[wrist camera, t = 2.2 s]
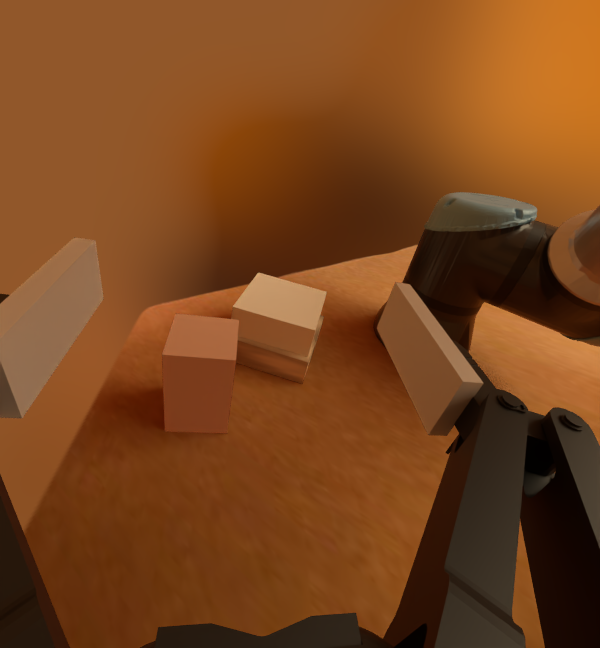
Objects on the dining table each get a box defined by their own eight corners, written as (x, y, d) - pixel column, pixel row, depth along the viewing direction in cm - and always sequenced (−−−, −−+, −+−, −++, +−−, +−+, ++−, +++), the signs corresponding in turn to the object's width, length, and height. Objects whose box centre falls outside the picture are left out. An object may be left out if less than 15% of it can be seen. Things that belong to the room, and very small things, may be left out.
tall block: (176, 386, 39) (175, 313, 33) (230, 389, 40) (238, 319, 34) (164, 431, 34) (162, 354, 28) (226, 433, 35) (236, 360, 29)
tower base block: (249, 317, 53) (252, 295, 51) (318, 338, 52) (324, 316, 50) (219, 359, 44) (222, 335, 42) (301, 386, 43) (308, 362, 41)
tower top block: (254, 296, 50) (258, 272, 48) (320, 315, 50) (326, 291, 48) (229, 333, 42) (232, 306, 40) (307, 356, 42) (315, 330, 39)
